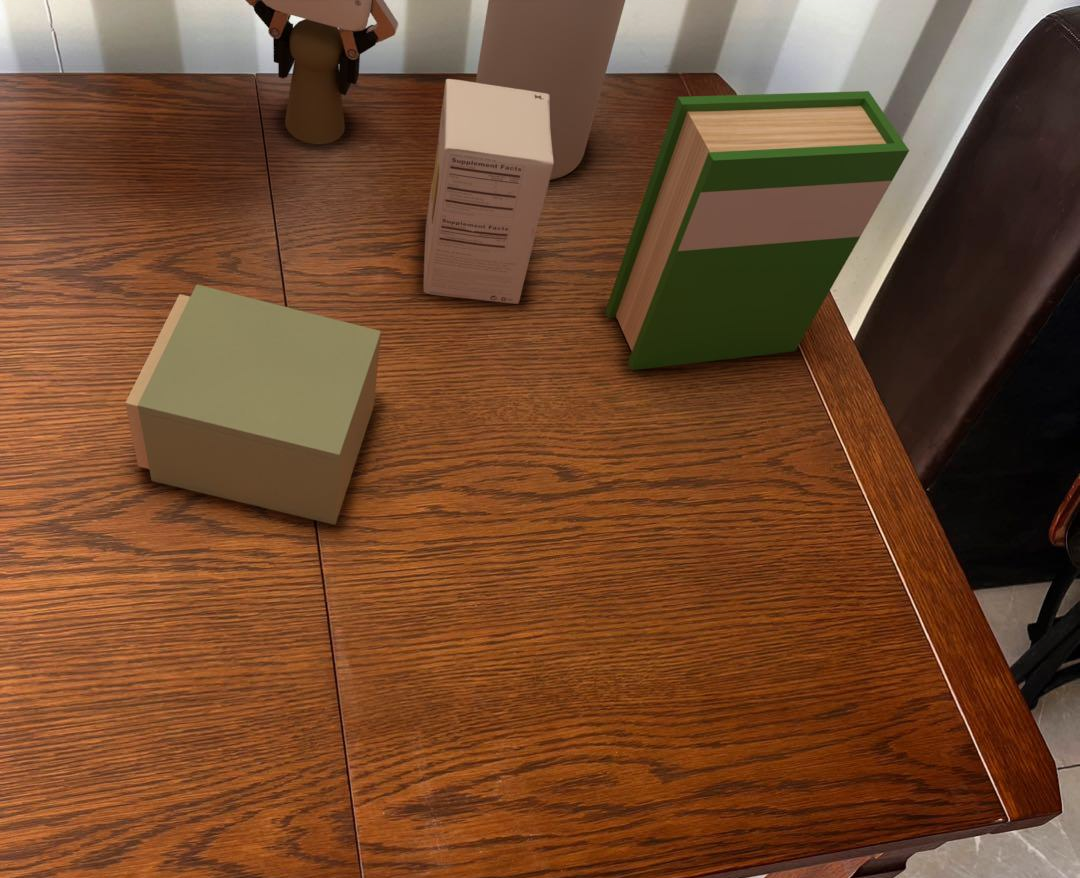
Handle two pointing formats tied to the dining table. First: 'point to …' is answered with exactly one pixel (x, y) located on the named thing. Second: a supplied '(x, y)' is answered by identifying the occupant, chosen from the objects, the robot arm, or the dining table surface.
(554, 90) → the cylinder vase
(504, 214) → the supplement box
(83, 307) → the dining table surface
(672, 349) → the hardback book
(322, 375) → the cabinet
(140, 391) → the drawer
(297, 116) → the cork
